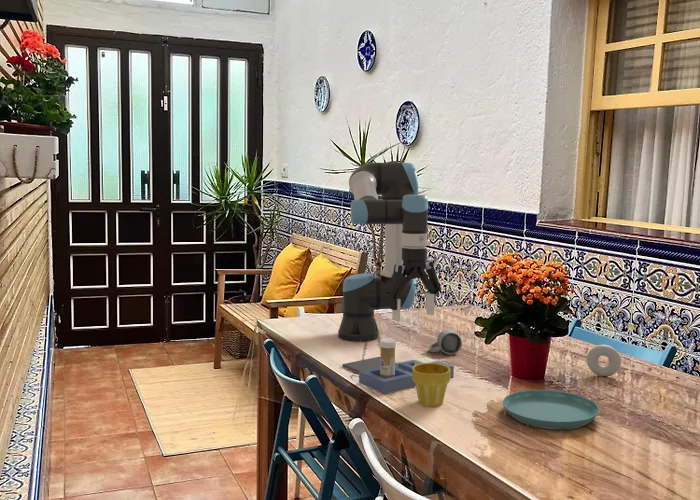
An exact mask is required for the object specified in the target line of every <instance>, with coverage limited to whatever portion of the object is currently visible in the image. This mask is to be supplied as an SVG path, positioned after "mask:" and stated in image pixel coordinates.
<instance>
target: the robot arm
mask: <svg viewBox="0 0 700 500" xmlns="http://www.w3.org/2000/svg"><path fill="white" fill-rule="evenodd" d="M418 180H419V179H418V173H417V170H416V167H415V165H414V164H413V163H411V162H403V161H401V162H400V161H399V162H398V161H397V162H396V161H395V162H390V161H389V162H369V163H368V162H367V163H365V164H362V165H360V166H359V167H357V168H356V169H355V170H353V172H352V173H351V175H350V176H349V180H348V188H349V190H350V192H351V194H353V200H351V202H350V222H351V223H352V224H354V225H362V226H363V225H384V228H385V229H384V267H383V268H384V269H383V270H381V272H380V275H379V277H376V276H375V274H374V273H358V274H353V275H349V276H347V277H345V278H344V279H343V283H342V292H343V293H342V296H343V297H342V318H341V321H340V324H339V327H338V330H337V332H338V333H337V335H338V336H337V337H338V338H339V339H340V340H343V341H348V342H357V343H358V342H370V341H375V340H377V339H379V337H380V336H379V335H380V334H379V333H380V331H379V327H378V324H377V321H376V318H375V310H391V311H392V312H391V316H392V317H391V319H392V321H395V322H401V310H407V309H410V308H411V307H412V306H413V305H414V303H415V299H416V298H415V296H416V292H417V291H416V289H417V287H416V286H417V280H416V279H419V280H420V281H421V282H422V284H423V285H424V287H425V289H426V290H427V291H428V292H426V299H425V300H426V303H425V304H426V308H425V310H426V311H425V312H426V315H430V316H435V304H436V299H437V298H436V297H437V295H438V294H439V292H441V290H442V286H441V283H440V282H439V279H438V276H437V273H436V270H435V263H434V262H433V261H429V260H428V249H427V246H428V216H429V215H428V214H429V201H428V196H427V195H426V194H419V181H418ZM379 196H381V198H380V199H379Z"/></svg>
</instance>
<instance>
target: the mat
mask: <svg viewBox="0 0 700 500" xmlns="http://www.w3.org/2000/svg"><path fill="white" fill-rule="evenodd" d="M380 359H381V356H375V357H371V358H366V359H365V358H364V359H361V360H356V361H351V362H346V363H342V365H341V366H342V368H345V369H348V370H350V371H352V372H355V373H357V374H359V371H364V370H369V369H373V368H378V367H380ZM398 363H399V362H395V367H398Z"/></svg>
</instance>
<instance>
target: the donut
mask: <svg viewBox="0 0 700 500" xmlns="http://www.w3.org/2000/svg"><path fill="white" fill-rule="evenodd" d="M600 357H607V358H608V360H609V362H608V364H607V365H602V364H600V362H599V358H600ZM586 364H587V367H588V369H589V370H590V371H591V372H592V373H593V374H595V375H596V376H598V375H599V376H598V377H602V376H609V377H611V376H614V375H615V374H616V373H618V371H619V370H620V368H621V364H622V359H621V355H620V353H619V352H618V351H617V350H616V348H614V347H612V346H611V345H608V344H598V345H595V346H593V347H592V348H591V349H590V350H589V351H588V353H587V356H586Z"/></svg>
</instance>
